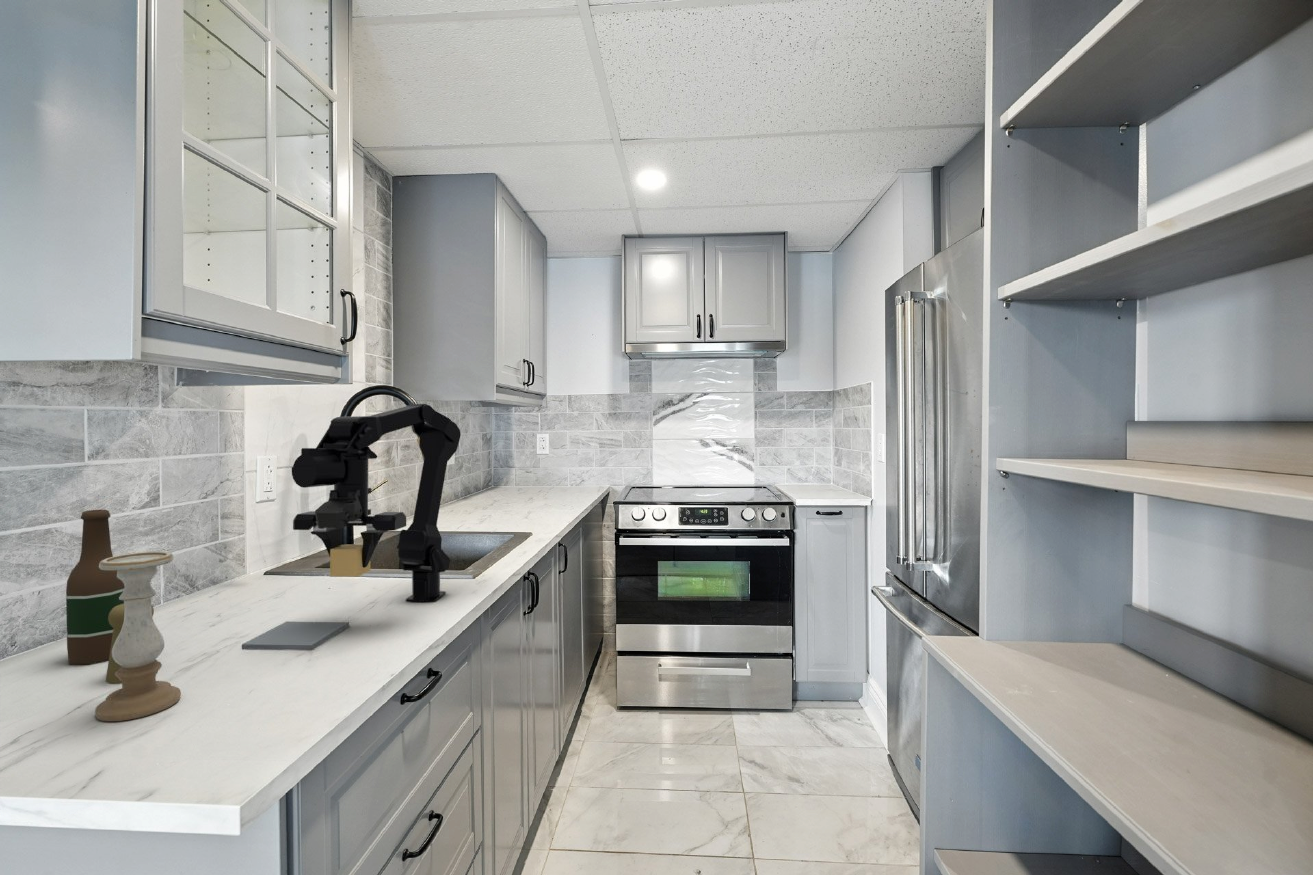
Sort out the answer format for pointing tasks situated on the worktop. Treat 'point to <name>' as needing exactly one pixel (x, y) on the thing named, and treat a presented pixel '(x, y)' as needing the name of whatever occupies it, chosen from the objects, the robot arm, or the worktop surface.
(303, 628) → the grey mat
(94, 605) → the beer bottle
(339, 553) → the ochre cube
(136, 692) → the candle holder
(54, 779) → the worktop surface
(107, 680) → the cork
